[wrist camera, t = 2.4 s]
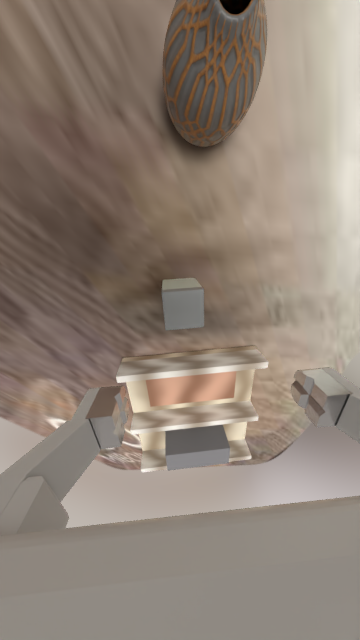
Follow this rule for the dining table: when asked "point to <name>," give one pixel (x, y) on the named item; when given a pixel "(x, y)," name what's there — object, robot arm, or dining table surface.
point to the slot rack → (191, 397)
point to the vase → (213, 65)
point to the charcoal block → (196, 447)
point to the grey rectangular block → (183, 303)
